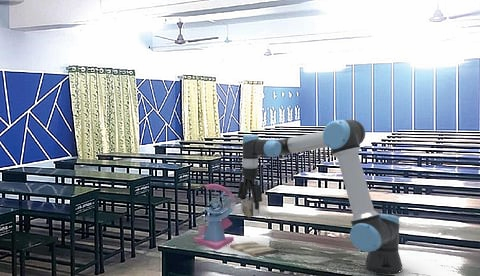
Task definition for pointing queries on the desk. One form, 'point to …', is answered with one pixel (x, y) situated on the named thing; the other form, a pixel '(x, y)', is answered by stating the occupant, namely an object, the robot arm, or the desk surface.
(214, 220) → the trophy
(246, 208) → the rock
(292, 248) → the desk surface
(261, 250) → the board
